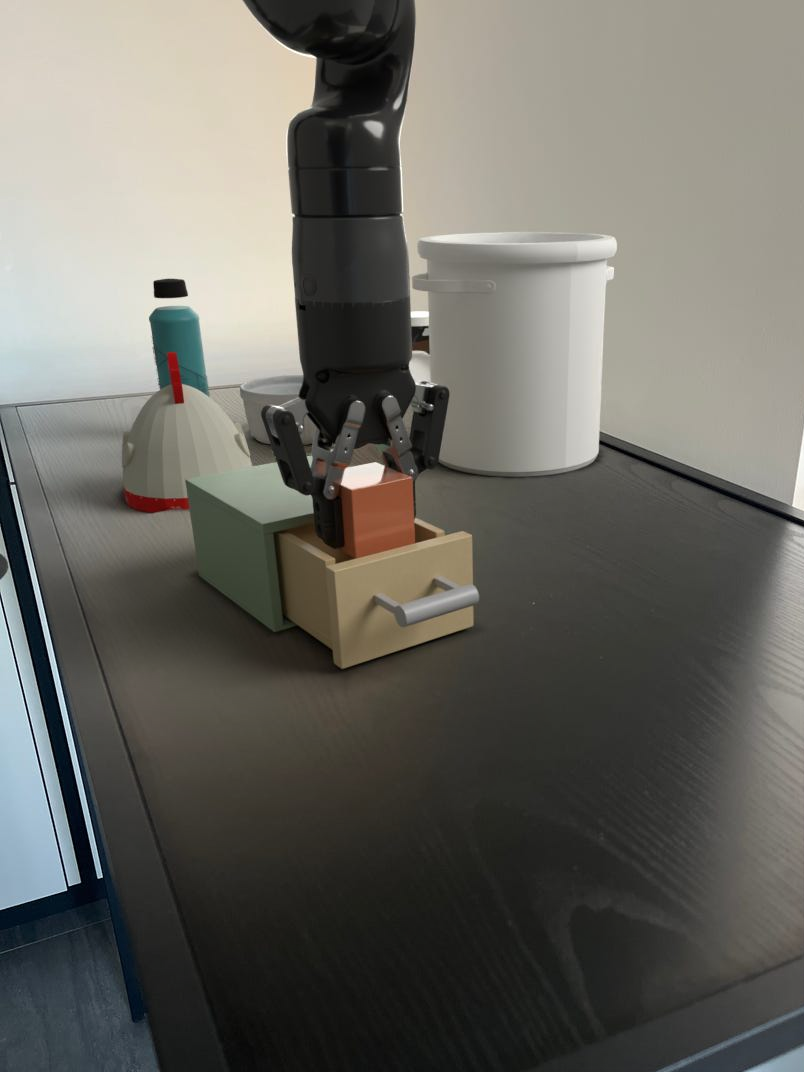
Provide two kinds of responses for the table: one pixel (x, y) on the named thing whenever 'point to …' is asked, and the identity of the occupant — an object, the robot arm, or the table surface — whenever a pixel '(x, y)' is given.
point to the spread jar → (420, 347)
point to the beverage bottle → (177, 337)
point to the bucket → (517, 347)
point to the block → (376, 509)
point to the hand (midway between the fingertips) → (367, 536)
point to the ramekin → (272, 403)
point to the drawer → (376, 591)
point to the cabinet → (245, 534)
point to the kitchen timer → (178, 445)
